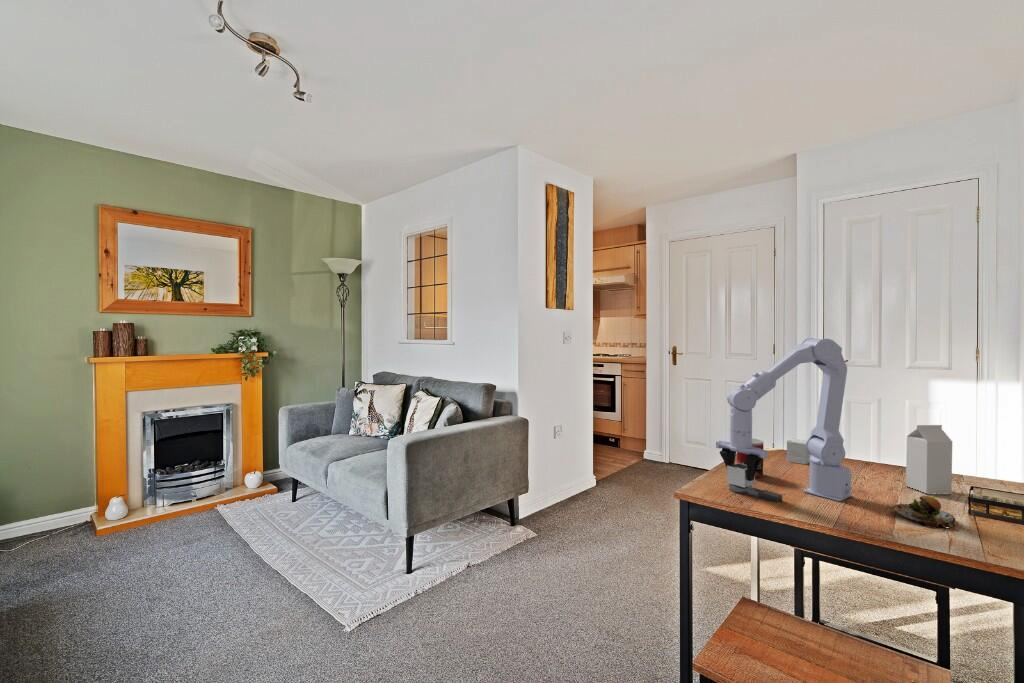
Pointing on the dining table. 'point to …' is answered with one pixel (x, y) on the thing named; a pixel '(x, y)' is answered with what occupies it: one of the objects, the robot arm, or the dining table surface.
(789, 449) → the skincare box
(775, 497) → the ratchet
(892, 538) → the dining table surface
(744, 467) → the socket
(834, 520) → the dining table surface
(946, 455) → the milk carton
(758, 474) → the canned food
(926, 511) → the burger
